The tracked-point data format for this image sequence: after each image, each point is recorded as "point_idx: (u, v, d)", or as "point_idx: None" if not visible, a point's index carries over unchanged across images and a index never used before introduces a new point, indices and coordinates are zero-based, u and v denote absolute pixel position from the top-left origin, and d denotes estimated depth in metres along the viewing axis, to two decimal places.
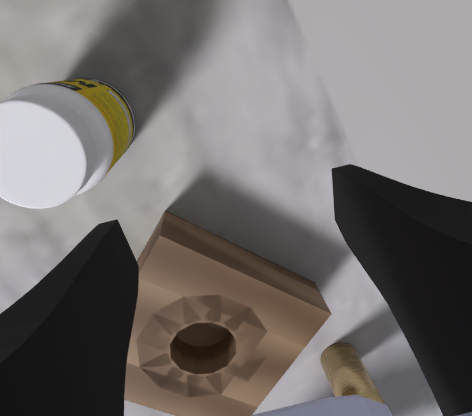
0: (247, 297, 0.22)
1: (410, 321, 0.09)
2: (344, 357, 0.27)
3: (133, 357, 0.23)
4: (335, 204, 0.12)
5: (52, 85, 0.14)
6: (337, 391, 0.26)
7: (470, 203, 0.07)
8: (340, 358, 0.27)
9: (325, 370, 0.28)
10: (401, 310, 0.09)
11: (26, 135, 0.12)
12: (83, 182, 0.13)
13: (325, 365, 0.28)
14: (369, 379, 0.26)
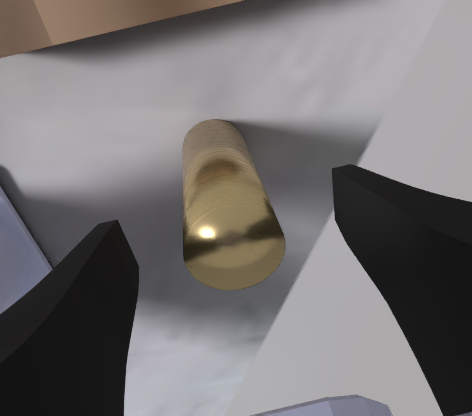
0: None
1: (410, 321, 0.09)
2: (237, 136, 0.15)
3: None
4: (335, 204, 0.12)
5: None
6: (203, 151, 0.13)
7: (470, 203, 0.07)
8: (231, 132, 0.15)
9: (192, 137, 0.16)
10: (401, 310, 0.09)
11: None
12: None
13: (198, 131, 0.16)
14: None
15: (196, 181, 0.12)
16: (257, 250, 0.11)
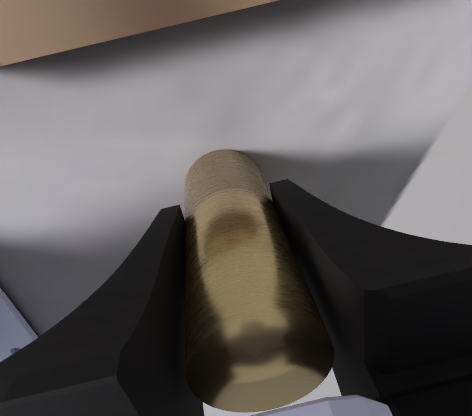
0: None
1: None
2: (254, 173, 0.12)
3: None
4: None
5: None
6: (213, 201, 0.10)
7: (373, 226, 0.07)
8: (246, 169, 0.12)
9: (197, 175, 0.12)
10: None
11: None
12: None
13: (204, 167, 0.12)
14: None
15: (204, 252, 0.09)
16: (293, 365, 0.07)
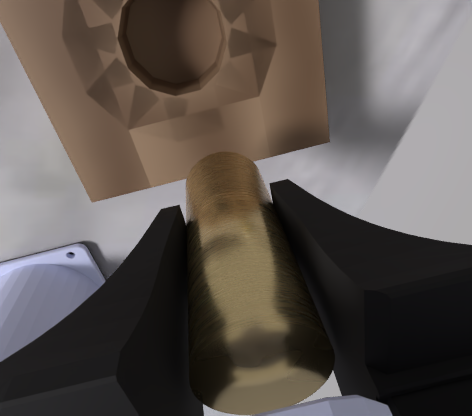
0: (287, 25, 0.15)
1: None
2: (254, 175, 0.12)
3: None
4: None
5: None
6: (213, 205, 0.10)
7: (374, 226, 0.07)
8: (247, 171, 0.12)
9: (197, 177, 0.12)
10: None
11: None
12: None
13: (204, 169, 0.12)
14: None
15: (206, 257, 0.09)
16: (295, 369, 0.07)
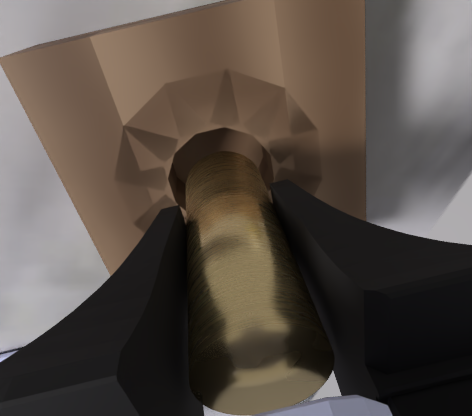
0: (334, 163, 0.15)
1: None
2: (254, 175, 0.12)
3: (132, 104, 0.13)
4: None
5: None
6: (213, 205, 0.10)
7: (373, 226, 0.07)
8: (246, 171, 0.12)
9: (197, 177, 0.12)
10: None
11: None
12: None
13: (204, 169, 0.12)
14: None
15: (205, 259, 0.09)
16: (294, 370, 0.07)
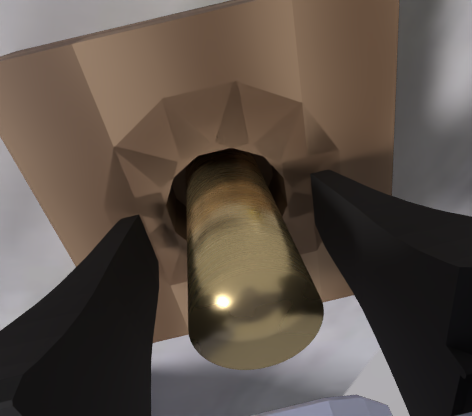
0: None
1: (381, 328, 0.09)
2: (250, 161, 0.13)
3: (123, 122, 0.11)
4: (314, 209, 0.12)
5: None
6: (211, 183, 0.11)
7: (437, 211, 0.07)
8: (243, 157, 0.13)
9: (197, 164, 0.13)
10: (374, 316, 0.09)
11: None
12: None
13: (203, 157, 0.13)
14: None
15: (204, 226, 0.09)
16: (286, 321, 0.08)
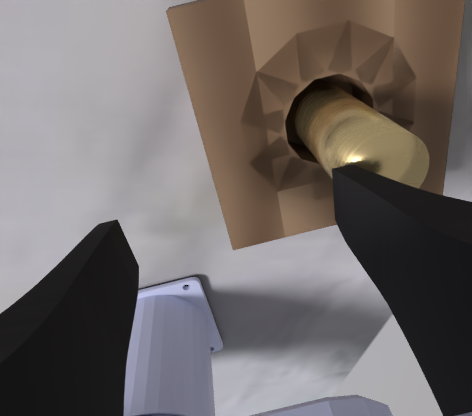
0: (425, 107, 0.17)
1: (410, 321, 0.09)
2: None
3: (266, 52, 0.15)
4: (335, 204, 0.12)
5: None
6: (327, 100, 0.15)
7: (470, 203, 0.07)
8: (339, 88, 0.17)
9: (302, 94, 0.17)
10: (401, 310, 0.09)
11: None
12: None
13: (307, 88, 0.17)
14: None
15: (336, 121, 0.14)
16: (404, 172, 0.12)
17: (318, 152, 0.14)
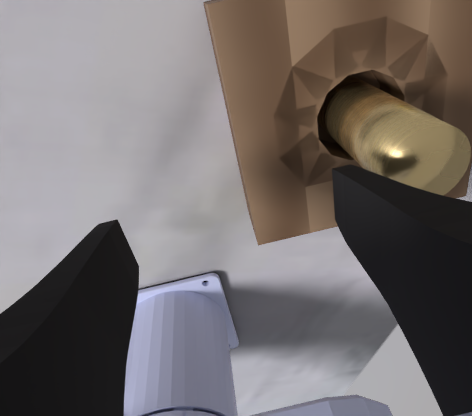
0: (455, 105, 0.17)
1: (410, 321, 0.09)
2: None
3: (303, 47, 0.15)
4: (335, 204, 0.12)
5: None
6: (362, 95, 0.15)
7: (470, 203, 0.07)
8: None
9: (333, 90, 0.17)
10: (401, 310, 0.09)
11: None
12: None
13: (337, 84, 0.17)
14: None
15: (375, 115, 0.14)
16: (445, 166, 0.12)
17: (354, 146, 0.14)
